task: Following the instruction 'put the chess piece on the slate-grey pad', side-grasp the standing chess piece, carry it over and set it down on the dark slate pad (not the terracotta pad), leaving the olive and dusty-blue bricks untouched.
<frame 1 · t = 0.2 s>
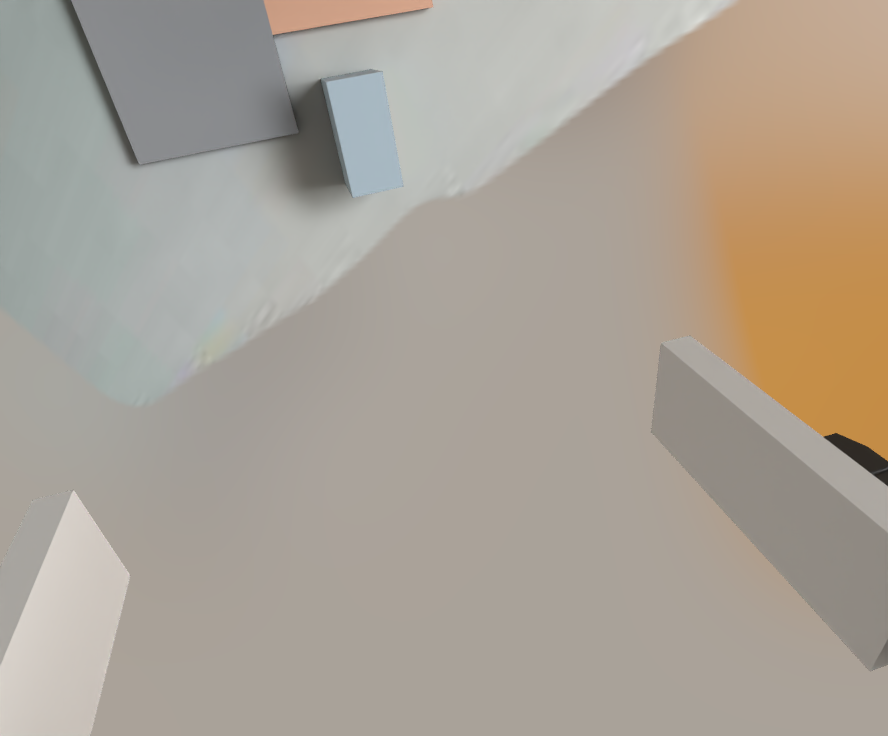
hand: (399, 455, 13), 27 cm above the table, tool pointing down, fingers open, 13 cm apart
pad slate: (192, 59, 31), on the table
brick blue: (357, 128, 35), on the table
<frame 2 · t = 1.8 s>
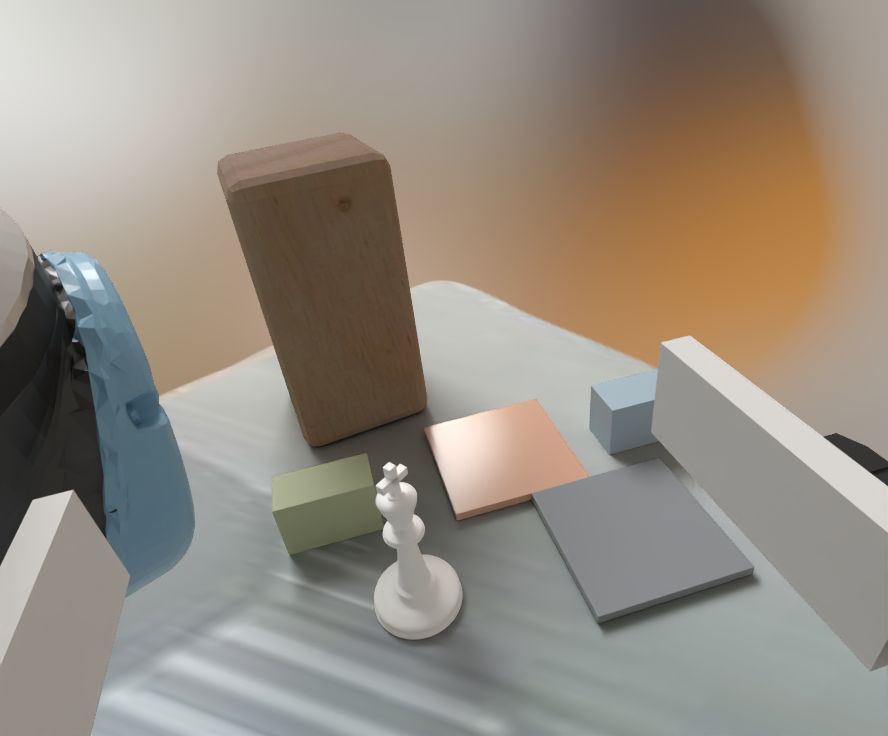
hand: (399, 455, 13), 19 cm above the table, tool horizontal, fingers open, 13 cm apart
brick olive: (335, 525, 37), on the table
pad slate: (632, 533, 34), on the table
chess piece: (419, 599, 32), on the table
pad terracotta: (501, 456, 40), on the table
wooden block: (356, 401, 48), on the table
brick blue: (637, 432, 41), on the table
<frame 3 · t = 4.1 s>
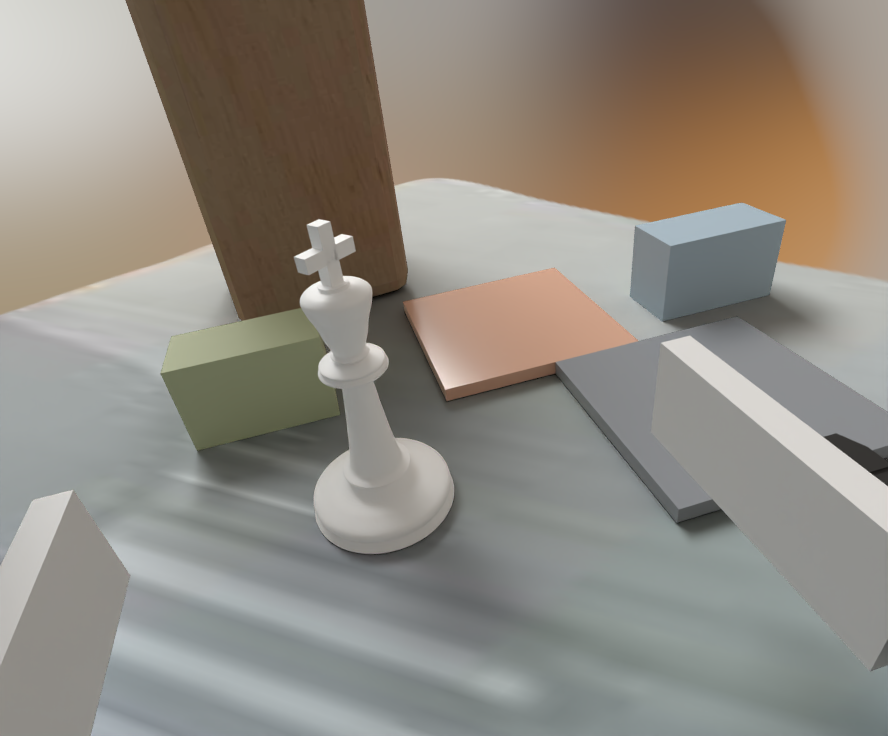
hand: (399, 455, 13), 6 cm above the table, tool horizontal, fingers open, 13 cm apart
brick olive: (270, 413, 25), on the table
pad slate: (711, 405, 22), on the table
chess piece: (386, 501, 20), on the table
pad terracotta: (508, 329, 29), on the table
wooden block: (316, 286, 36), on the table
brick blue: (697, 297, 30), on the table
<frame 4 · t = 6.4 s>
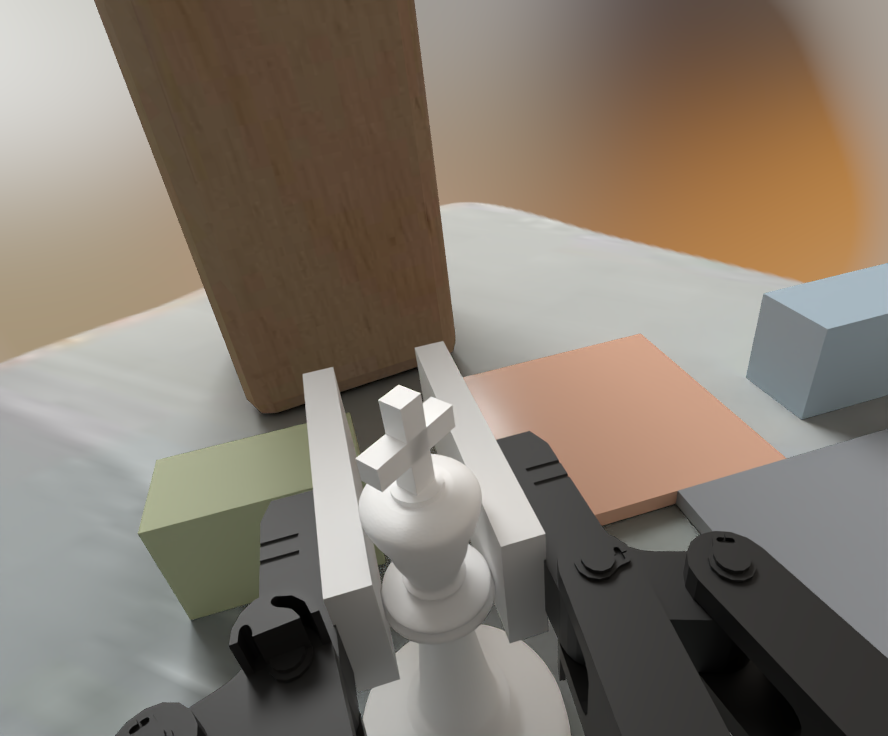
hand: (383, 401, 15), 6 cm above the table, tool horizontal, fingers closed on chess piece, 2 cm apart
brick olive: (290, 555, 19), on the table
chess piece: (466, 735, 14), on the table, touching gripper
pad terracotta: (596, 425, 22), on the table
wooden block: (340, 348, 30), on the table
brick blue: (836, 381, 23), on the table
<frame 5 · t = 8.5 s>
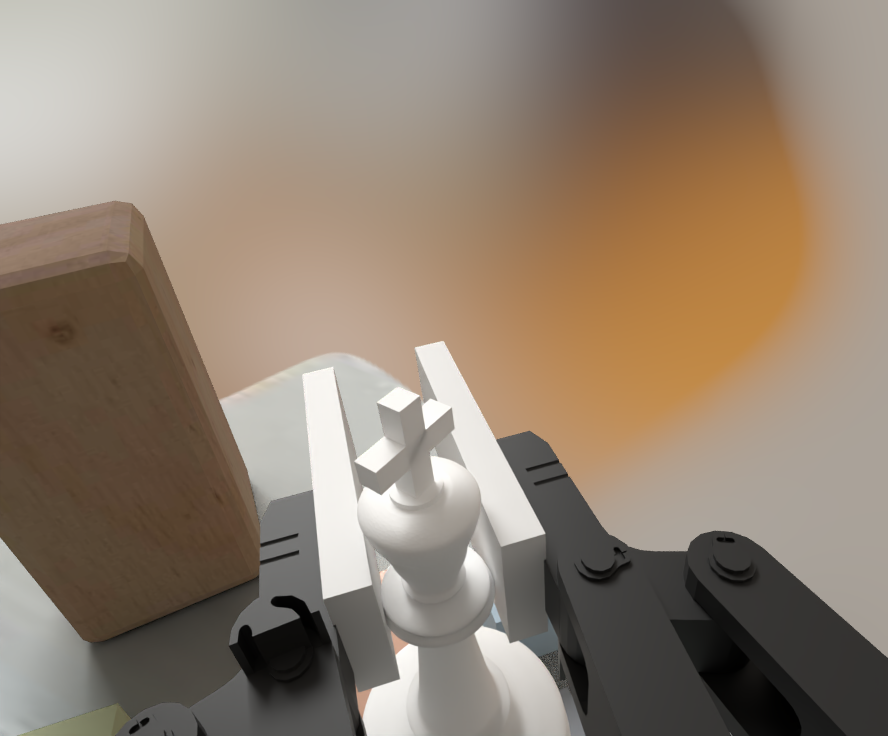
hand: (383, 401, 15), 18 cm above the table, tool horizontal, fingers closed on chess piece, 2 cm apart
pad terracotta: (347, 669, 28), on the table
wooden block: (180, 552, 35), on the table
brick blue: (545, 624, 29), on the table
when the fingers open (8 cm above the table, at t = 10.7 s): chess piece drops 1 cm, resting on pad slate.
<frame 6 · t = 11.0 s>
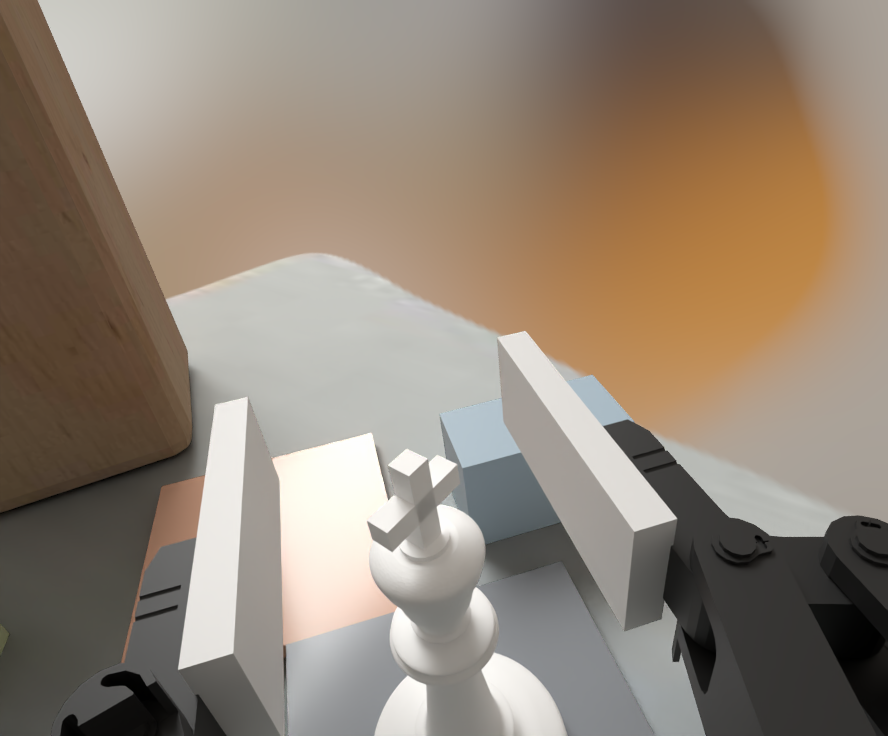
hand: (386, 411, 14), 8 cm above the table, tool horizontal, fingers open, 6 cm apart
pad terracotta: (273, 548, 21), on the table
wooden block: (96, 434, 29), on the table
brick blue: (536, 498, 22), on the table
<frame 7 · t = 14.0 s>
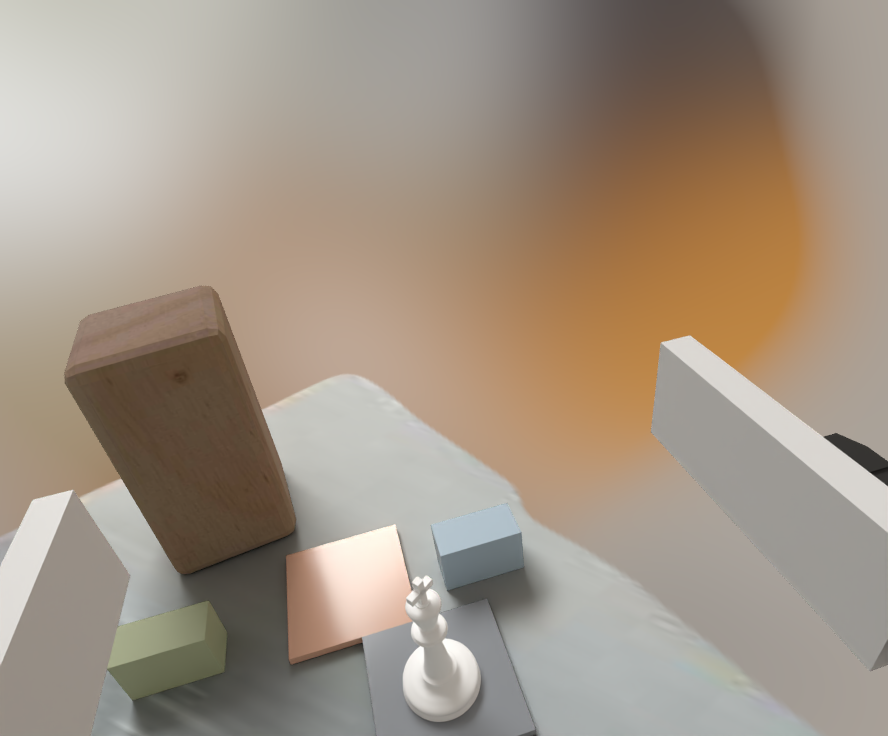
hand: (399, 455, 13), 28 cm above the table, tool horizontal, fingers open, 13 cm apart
brick olive: (182, 666, 40), on the table
pad slate: (442, 684, 36), on the table
chess piece: (442, 682, 36), resting on pad slate
pad terracotta: (349, 590, 43), on the table
wooden block: (236, 519, 51), on the table
brick blue: (480, 563, 44), on the table
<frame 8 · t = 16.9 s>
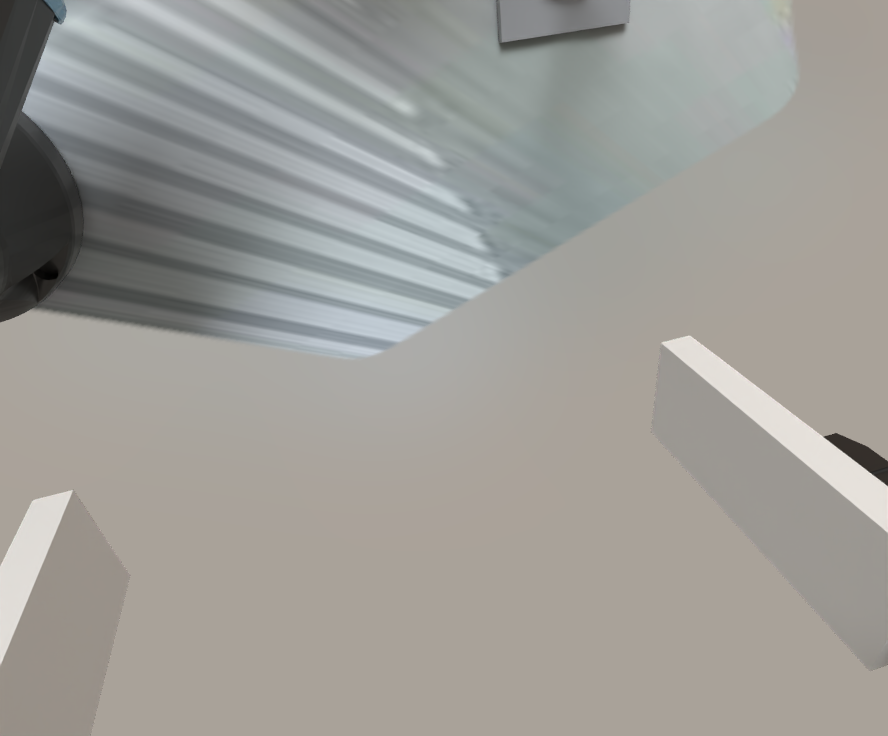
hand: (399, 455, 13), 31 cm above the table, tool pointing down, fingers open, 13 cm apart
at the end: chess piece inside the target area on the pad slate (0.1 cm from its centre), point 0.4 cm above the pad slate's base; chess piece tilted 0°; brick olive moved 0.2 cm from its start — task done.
